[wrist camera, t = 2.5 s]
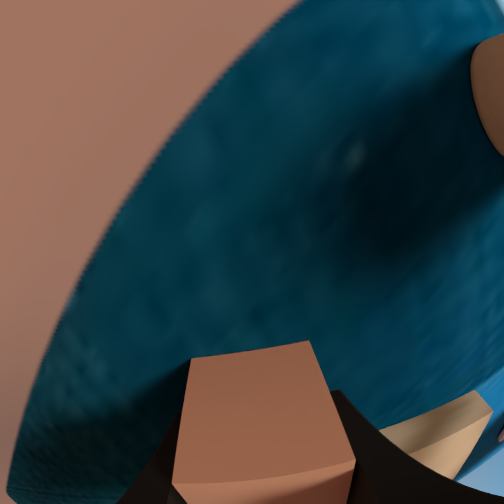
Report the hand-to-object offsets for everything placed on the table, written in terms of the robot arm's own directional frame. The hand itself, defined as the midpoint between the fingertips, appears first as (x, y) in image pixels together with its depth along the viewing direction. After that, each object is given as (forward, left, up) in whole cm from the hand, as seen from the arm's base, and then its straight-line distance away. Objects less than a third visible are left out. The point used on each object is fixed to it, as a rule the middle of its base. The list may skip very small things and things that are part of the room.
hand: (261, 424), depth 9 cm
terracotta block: (0, 0, -2) cm, 2 cm away
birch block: (-7, +9, -2) cm, 12 cm away
